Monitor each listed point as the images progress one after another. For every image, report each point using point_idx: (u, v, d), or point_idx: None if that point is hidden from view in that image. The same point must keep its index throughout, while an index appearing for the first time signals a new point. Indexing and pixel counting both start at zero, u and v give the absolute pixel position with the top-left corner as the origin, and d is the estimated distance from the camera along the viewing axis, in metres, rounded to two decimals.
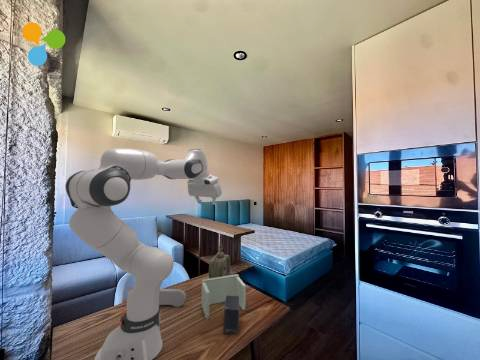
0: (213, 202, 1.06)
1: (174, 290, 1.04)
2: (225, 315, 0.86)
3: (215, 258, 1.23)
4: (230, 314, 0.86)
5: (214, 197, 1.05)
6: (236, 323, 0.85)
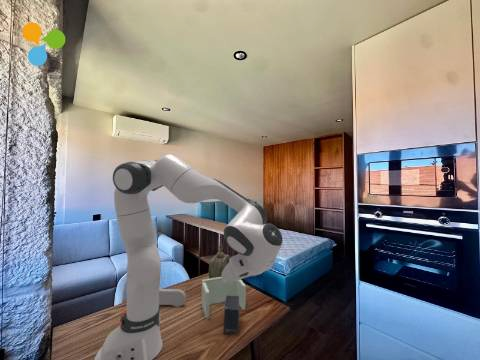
0: None
1: (174, 290, 1.04)
2: (225, 315, 0.86)
3: (215, 258, 1.23)
4: (230, 314, 0.86)
5: None
6: (236, 323, 0.85)
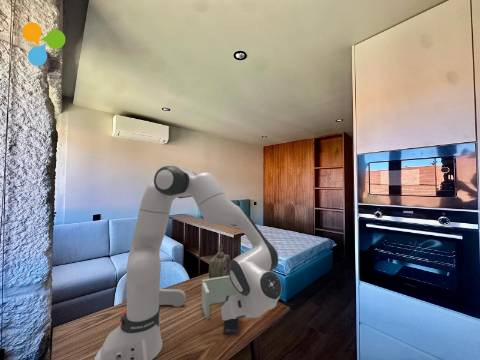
0: None
1: (174, 290, 1.04)
2: None
3: (215, 258, 1.23)
4: None
5: None
6: (236, 323, 0.85)
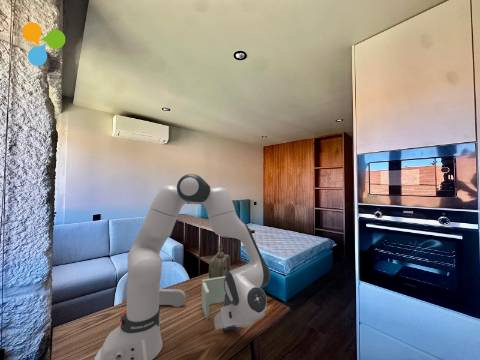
0: None
1: (174, 290, 1.04)
2: None
3: (215, 258, 1.23)
4: None
5: None
6: None
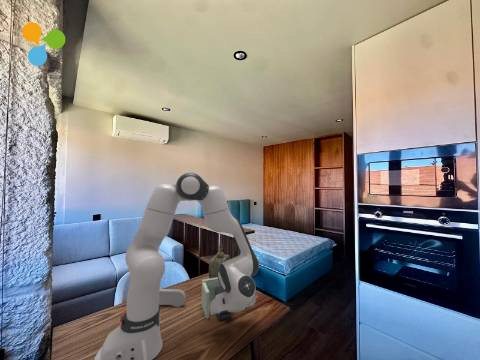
0: None
1: (174, 290, 1.04)
2: None
3: (215, 258, 1.23)
4: None
5: None
6: None
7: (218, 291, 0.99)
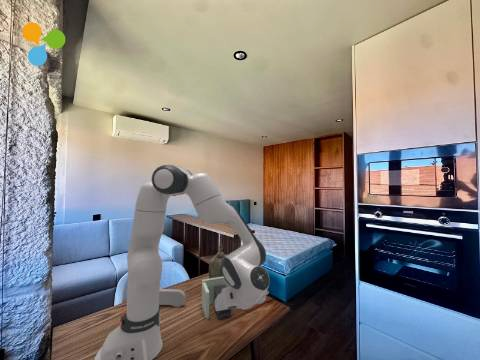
0: None
1: (174, 290, 1.04)
2: None
3: (215, 258, 1.23)
4: None
5: None
6: None
7: (217, 290, 1.00)
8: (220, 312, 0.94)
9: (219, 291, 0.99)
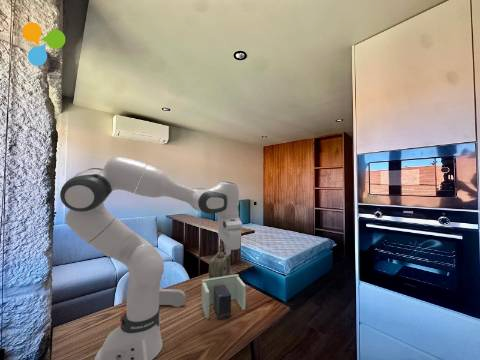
0: (227, 251, 0.83)
1: (174, 290, 1.04)
2: (220, 302, 0.95)
3: (215, 258, 1.23)
4: (224, 300, 0.95)
5: None
6: (229, 307, 0.96)
7: (217, 290, 1.00)
8: (220, 312, 0.94)
9: (219, 291, 0.99)
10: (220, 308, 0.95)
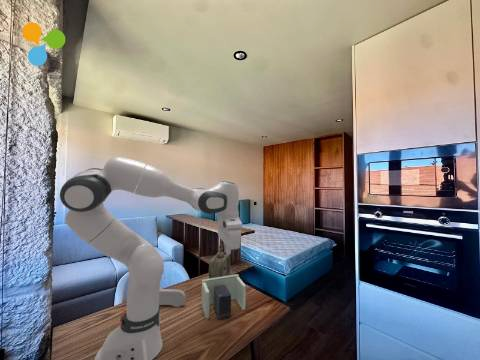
0: (226, 251, 0.83)
1: (174, 290, 1.04)
2: (220, 302, 0.95)
3: (215, 258, 1.23)
4: (224, 300, 0.95)
5: None
6: (229, 307, 0.96)
7: (217, 290, 1.00)
8: (220, 312, 0.94)
9: (219, 291, 0.99)
10: (220, 308, 0.95)
